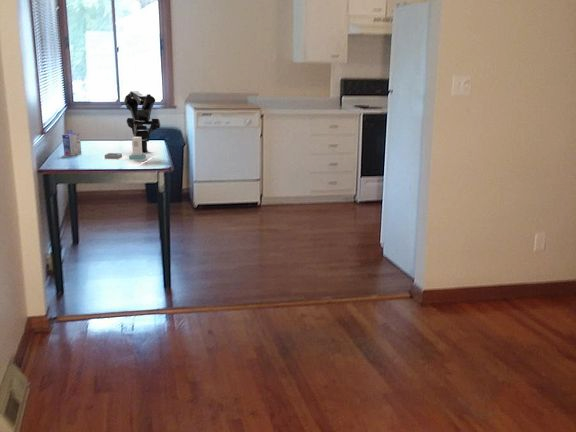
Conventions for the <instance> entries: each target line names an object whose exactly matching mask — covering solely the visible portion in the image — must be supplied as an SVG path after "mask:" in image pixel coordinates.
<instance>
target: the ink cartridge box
mask: <svg viewBox="0 0 576 432" xmlns="http://www.w3.org/2000/svg"><path fill="white" fill-rule="evenodd" d="M66 132H67V134H62V135H61V136H62V144H63V145H62V146H63V154H64V156H69V157H72V156H75V155H80V154H82V146H81V145H82V144H81V134H80V133H79V132H78V133H77V132H73V131H72V130H71V129H68V130H66Z"/></svg>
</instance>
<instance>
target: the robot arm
mask: <svg viewBox="0 0 576 432" xmlns="http://www.w3.org/2000/svg"><path fill="white" fill-rule="evenodd" d="M155 102H156V99H155V97H154V96H152V95H151V94H149V93H148V94H146V95H144V94H142V93H140V91H138V90H131V91H129V93H128V94H127V95H126V96H125V98H124V106H126V109H127V110H128V111H129V112H130V114H131V117H127V118H126V124H127V126H128V127H129V128H130V129H131V131H132V135H133V136H132V137H142V153H145V152H146V153H147V152H149V150H148V142H150V136H151V134H152V133H153V132H154V131H156V130H158V129H160V128H161V122H160V119H159V118H151V113H152V110H153V107H154V105H155ZM139 106H141V109H139V108H138V107H139ZM147 126H150V127H149V130H148V127H147Z"/></svg>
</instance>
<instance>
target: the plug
mask: <svg viewBox="0 0 576 432" xmlns="http://www.w3.org/2000/svg"><path fill="white" fill-rule="evenodd" d="M142 140H143V139H142V137H133V136H132V137H131V145H132V146H131V147H132V149H131V151H132V154H133V155H134V156H142V154H143V152H142Z"/></svg>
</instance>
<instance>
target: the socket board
mask: <svg viewBox="0 0 576 432" xmlns="http://www.w3.org/2000/svg"><path fill="white" fill-rule="evenodd" d="M101 159H102V160H122V161H124V160H125V161H142V163H144V162H146V161H148V160H150V157H149V156H147V154H146V153H142V156H134V155H133V153H131V154H129V155H128V156H127V155H123V153H118V152H115V153H114V152H108V153H106V154H104V157H103V158H101Z"/></svg>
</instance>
